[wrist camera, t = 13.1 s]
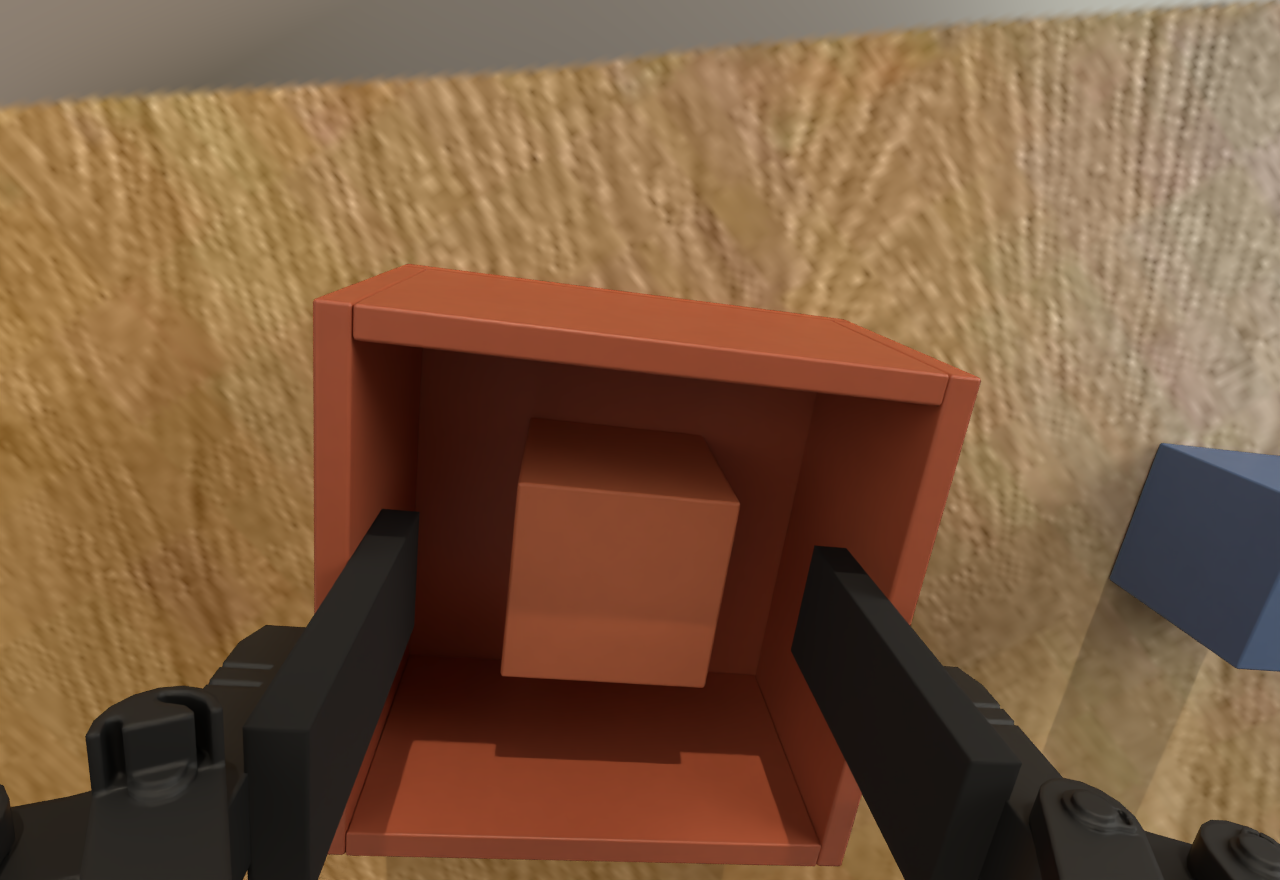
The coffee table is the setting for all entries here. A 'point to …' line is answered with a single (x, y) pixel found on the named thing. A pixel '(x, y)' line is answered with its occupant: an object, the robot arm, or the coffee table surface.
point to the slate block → (1210, 550)
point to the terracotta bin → (482, 543)
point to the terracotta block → (616, 556)
